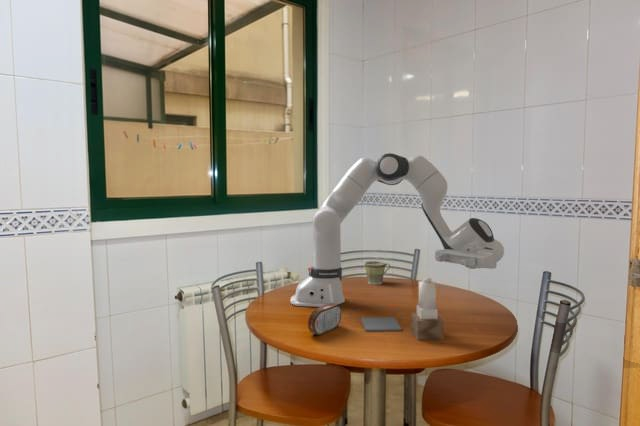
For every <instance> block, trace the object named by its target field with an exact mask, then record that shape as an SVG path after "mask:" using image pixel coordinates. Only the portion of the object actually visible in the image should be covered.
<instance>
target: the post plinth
mask: <svg viewBox="0 0 640 426" xmlns="http://www.w3.org/2000/svg"><path fill="white" fill-rule="evenodd" d="M410 315H411V316H410V330H411V333H412V334H413V335H414V337H415V339H416V340H417V341H429V340H431V341H432V340H433V341H434V340H438V341H439V340H442V341H443V340H444V319H443V318H442V317H441V316H440V315H438V319H420V318H419V316H418V315H417V312H411V314H410Z"/></svg>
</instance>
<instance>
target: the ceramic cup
mask: <svg viewBox="0 0 640 426" xmlns="http://www.w3.org/2000/svg"><path fill="white" fill-rule="evenodd" d="M364 265H365V272H366V278H367V283H368V284H369V285H374V286H377V285H382V284H383V281H384V280H383V279H384V275H385V274H386V273H387V272H388V270H390V268H391V264H390V263H387V262H384V261H380V260H378V261H377V260H371V261H366V262H364ZM387 266H388V268H387V269H385V268H386V267H387Z"/></svg>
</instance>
